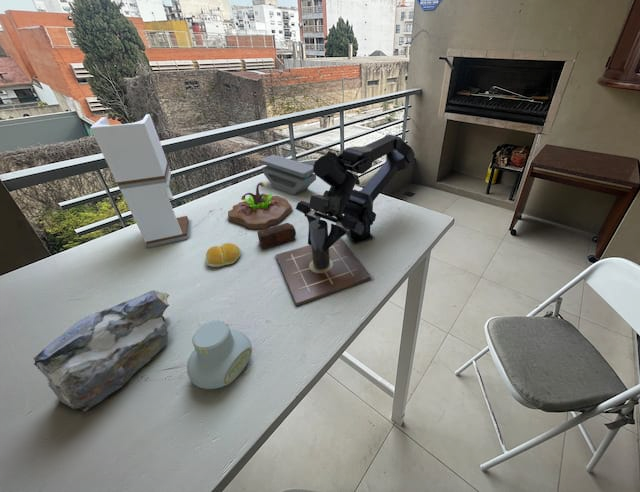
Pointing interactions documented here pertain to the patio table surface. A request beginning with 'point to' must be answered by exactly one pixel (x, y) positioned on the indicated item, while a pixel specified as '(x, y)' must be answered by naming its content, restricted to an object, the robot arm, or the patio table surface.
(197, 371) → the air freshener
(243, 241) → the patio table surface
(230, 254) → the bread roll
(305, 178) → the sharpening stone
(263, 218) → the plant
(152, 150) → the white box tower
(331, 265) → the grid board
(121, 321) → the fossil rock
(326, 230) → the dark gray cylindrical container
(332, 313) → the patio table surface
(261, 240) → the brick
